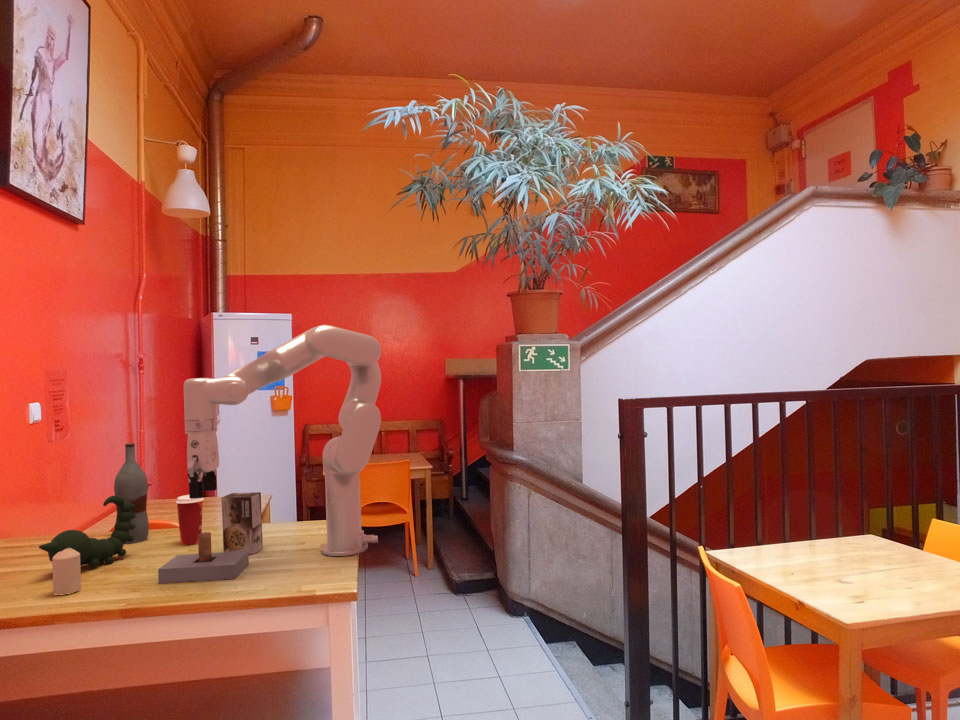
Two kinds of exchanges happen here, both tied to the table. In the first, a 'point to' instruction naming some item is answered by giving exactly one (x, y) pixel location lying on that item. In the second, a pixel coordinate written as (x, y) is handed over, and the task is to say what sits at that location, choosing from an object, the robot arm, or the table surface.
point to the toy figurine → (92, 547)
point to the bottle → (133, 493)
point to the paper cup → (189, 519)
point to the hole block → (203, 567)
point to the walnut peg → (204, 547)
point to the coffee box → (242, 522)
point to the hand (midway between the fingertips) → (203, 494)
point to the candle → (66, 572)
